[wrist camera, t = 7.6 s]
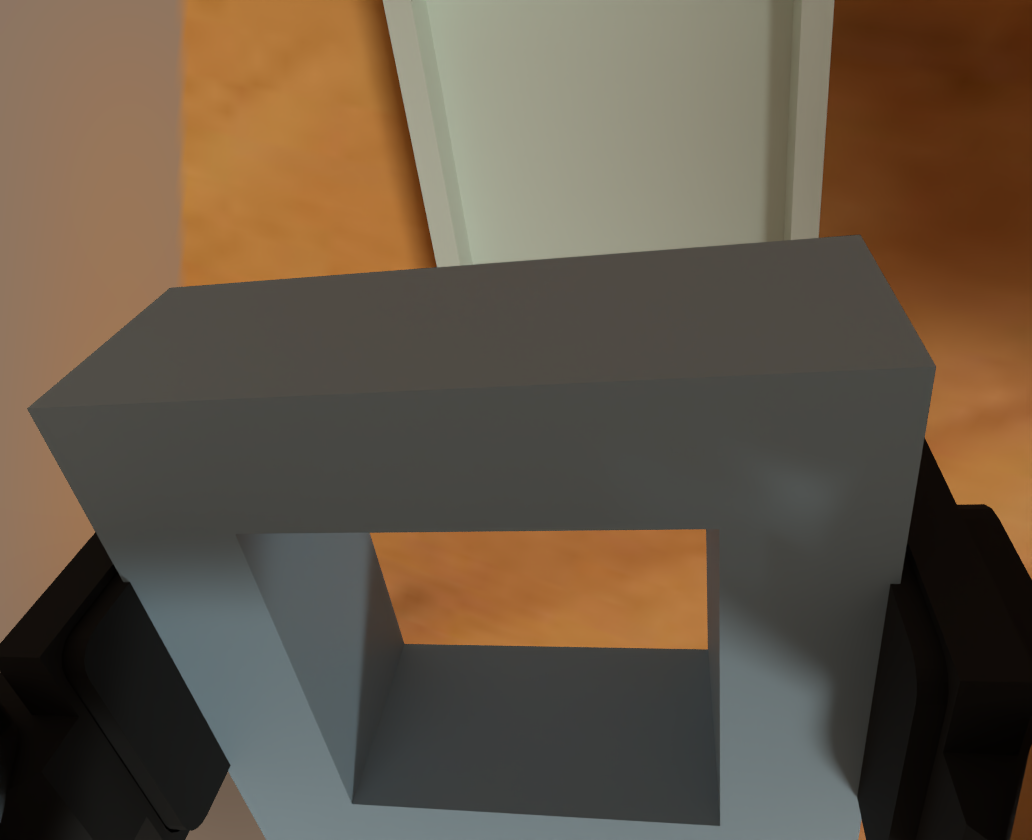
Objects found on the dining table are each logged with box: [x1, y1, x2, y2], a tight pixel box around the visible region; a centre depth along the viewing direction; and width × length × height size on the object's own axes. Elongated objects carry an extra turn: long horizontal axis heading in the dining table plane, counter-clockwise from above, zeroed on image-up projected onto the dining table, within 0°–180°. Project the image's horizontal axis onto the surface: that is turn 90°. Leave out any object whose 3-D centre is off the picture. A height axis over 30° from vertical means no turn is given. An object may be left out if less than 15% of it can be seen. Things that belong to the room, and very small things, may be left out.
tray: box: [383, 0, 834, 267], centre depth 25 cm, size 12×12×2 cm
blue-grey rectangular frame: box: [27, 235, 936, 840], centre depth 9 cm, size 7×9×2 cm
